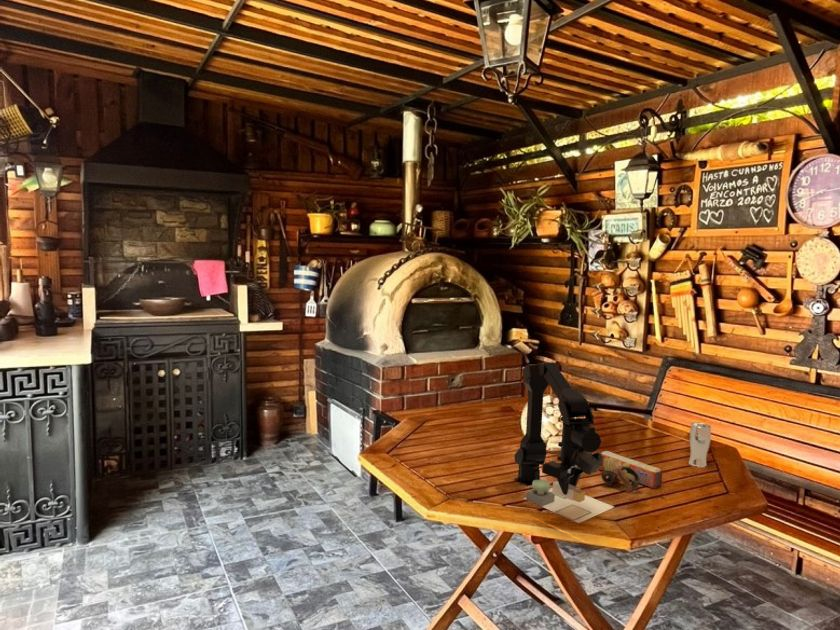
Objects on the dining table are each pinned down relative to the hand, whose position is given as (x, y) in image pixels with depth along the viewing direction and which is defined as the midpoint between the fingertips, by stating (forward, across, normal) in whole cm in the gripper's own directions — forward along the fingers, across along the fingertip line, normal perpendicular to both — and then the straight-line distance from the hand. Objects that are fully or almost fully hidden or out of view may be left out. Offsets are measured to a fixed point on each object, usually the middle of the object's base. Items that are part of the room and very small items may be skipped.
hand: (568, 493), depth 168 cm
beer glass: (+8, +76, -2) cm, 77 cm away
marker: (+1, 0, 0) cm, 1 cm away
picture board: (+7, +7, +5) cm, 11 cm away
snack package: (+8, +43, +6) cm, 44 cm away
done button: (+6, +1, +11) cm, 12 cm away
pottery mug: (+8, +32, +3) cm, 33 cm away
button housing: (+7, +1, +11) cm, 13 cm away
